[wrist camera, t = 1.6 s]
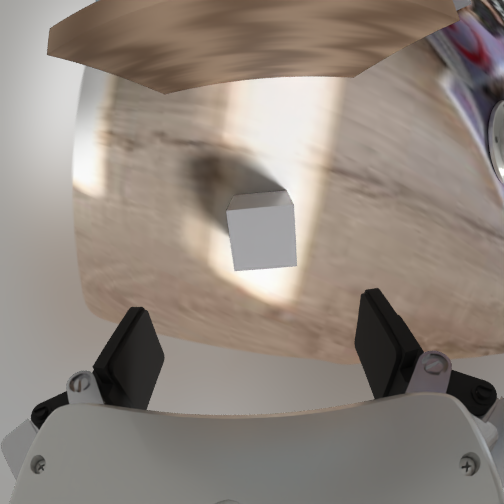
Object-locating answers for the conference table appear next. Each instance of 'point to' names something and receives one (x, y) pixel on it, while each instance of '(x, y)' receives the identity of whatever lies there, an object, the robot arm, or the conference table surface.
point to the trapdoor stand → (241, 38)
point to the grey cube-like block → (262, 230)
